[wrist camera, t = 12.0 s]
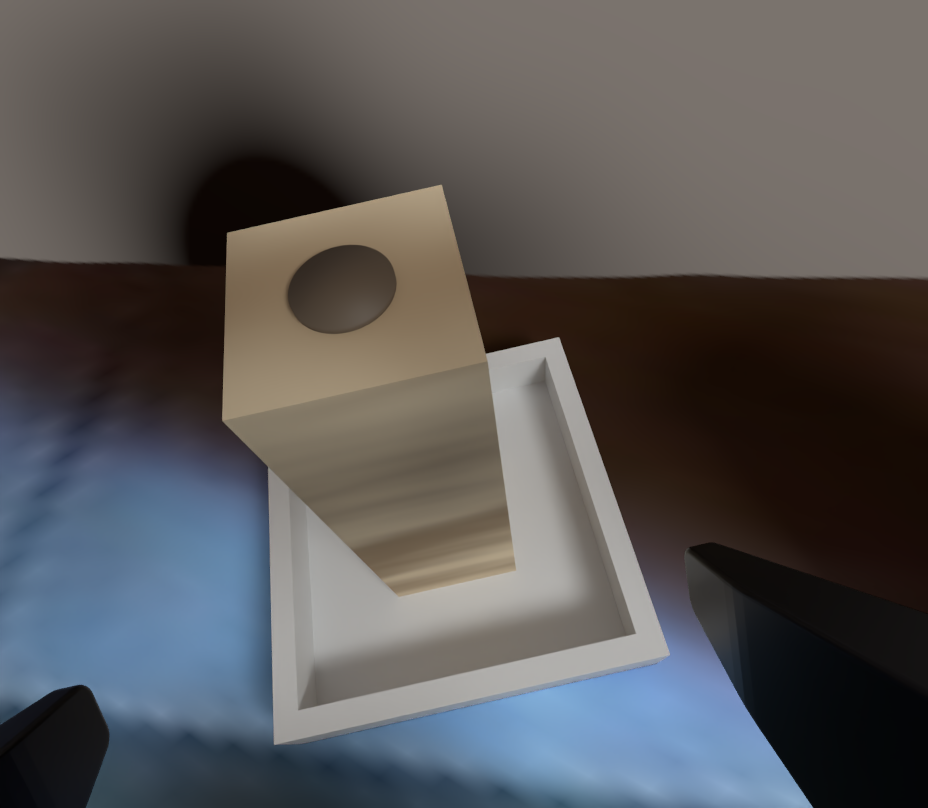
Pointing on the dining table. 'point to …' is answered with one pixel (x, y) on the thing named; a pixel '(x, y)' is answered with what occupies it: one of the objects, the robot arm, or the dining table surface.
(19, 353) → the dining table surface
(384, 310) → the maple block
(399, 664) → the tray
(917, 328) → the dining table surface
